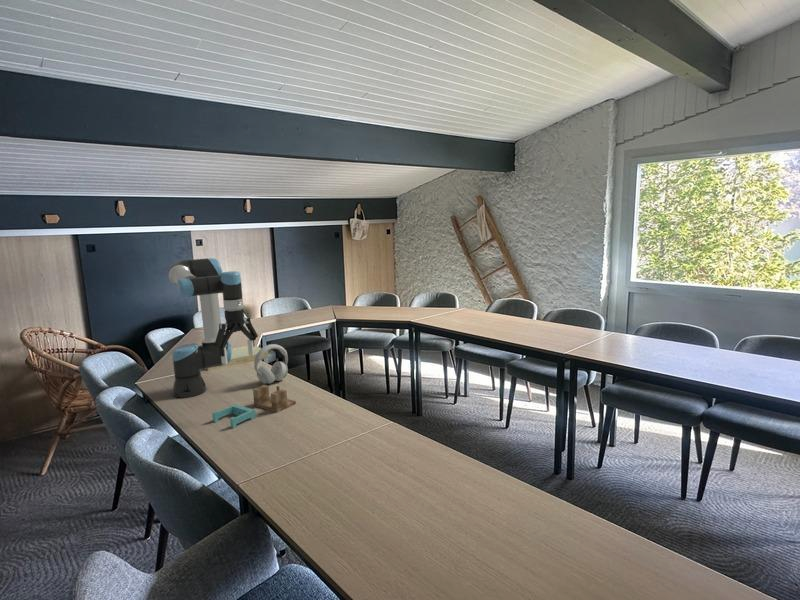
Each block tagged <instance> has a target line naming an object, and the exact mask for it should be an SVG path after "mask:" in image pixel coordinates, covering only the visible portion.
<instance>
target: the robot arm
mask: <svg viewBox="0 0 800 600" xmlns="http://www.w3.org/2000/svg"><path fill="white" fill-rule="evenodd" d="M168 268H169V269H168V270H167V278H168V280H169V282H170V283H172V284H173V285H175V286H176V287H177V292H178V295H179V296H180V297H182V298H186V297H187V298H190V297H197V296H199V303H200V312H201V321H202V327H203V328H202V329H203V336H204V337H203V339H202V341H201V345H198V343H194V342H193V343H187V344H183V345H180V346H178V347H175V348H174V349H173V350H172V354H171V355H172V359H171V361H172V365H173V374H174V383H173V386H172V396H173V397H174V398H178V397H180V399H181V398H182V399H184V398H183V397H186V398H191V397H196V396H199V395H201V394H204V393H205V392H206V391H207V384H206V383H205V381H204V378H203V377H202V376H203V375H202V374H201V373H202V371H201V370H207V368H212V367H217V366H222V365H226V364H228V363H229V362H230V360H231V354H232V350H231V349H232V346H231V345H232V344H231V342H230V341H229V339H230V338H231V336H232V335H233V333H237V332H240V331H241V333H243V335H244V336H245V337H247V346H248V353H249V355H252V356H253V355H254V346H255V345H256V344H255V341H256V340H257V338H258V336H259V335H258V333H257V332H256V330H255V328H254V326H253V324H252V321H251V318H249V317H245V311H244V302H243V289H242V288H243V287H242V278H241V273H240V271H234V270H233V271H224V272H223V269H222V266H221V263H220V262H219V260H218V259H217V258H196V259H184V260H180V261H177V262H175V263H173V264H172V265H171V266H170V267H168ZM219 294H222V302H223V309H224V312H223V313H224V319H225V323H222V319H221V316H222V315H221V309H220V308H221V307H220V300H219ZM244 324H245V325H244Z"/></svg>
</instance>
